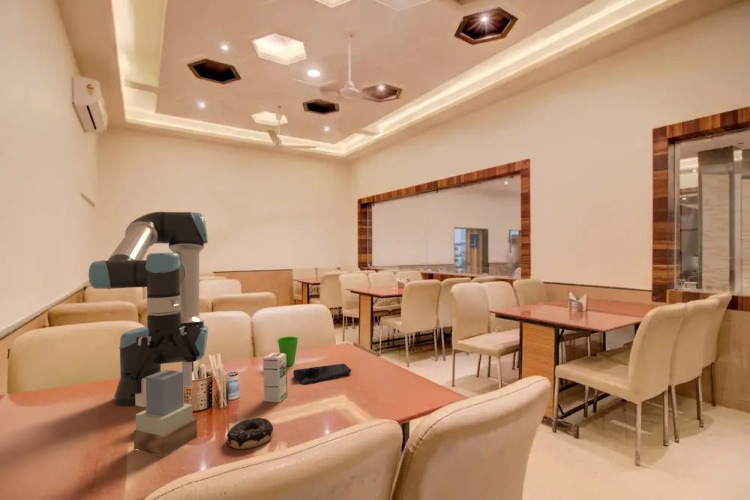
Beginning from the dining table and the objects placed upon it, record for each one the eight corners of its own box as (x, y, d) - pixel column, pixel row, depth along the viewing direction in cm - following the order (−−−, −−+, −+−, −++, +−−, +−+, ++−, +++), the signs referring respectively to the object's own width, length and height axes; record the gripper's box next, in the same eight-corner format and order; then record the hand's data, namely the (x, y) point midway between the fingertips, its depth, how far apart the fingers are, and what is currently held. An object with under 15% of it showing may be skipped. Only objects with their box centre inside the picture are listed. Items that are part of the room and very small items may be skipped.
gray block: (145, 412, 93) (145, 377, 93) (166, 403, 99) (165, 369, 99) (163, 416, 91) (163, 379, 91) (183, 406, 97) (183, 372, 97)
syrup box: (280, 402, 120) (279, 357, 120) (263, 401, 121) (262, 357, 121) (287, 395, 125) (287, 352, 125) (271, 394, 126) (270, 352, 126)
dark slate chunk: (355, 377, 143) (355, 365, 143) (299, 387, 134) (298, 373, 134) (342, 366, 157) (342, 355, 157) (290, 374, 148) (290, 362, 148)
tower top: (136, 430, 93) (135, 414, 93) (168, 414, 101) (167, 400, 101) (161, 436, 90) (161, 419, 90) (192, 420, 98) (192, 404, 98)
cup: (276, 362, 163) (276, 337, 163) (297, 360, 165) (297, 335, 165) (277, 368, 154) (277, 342, 154) (300, 366, 157) (299, 340, 157)
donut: (281, 438, 97) (281, 423, 97) (239, 457, 89) (239, 440, 89) (259, 425, 105) (259, 411, 105) (218, 442, 96) (218, 426, 96)
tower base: (134, 450, 93) (133, 430, 93) (168, 432, 102) (168, 413, 102) (163, 458, 89) (163, 437, 89) (196, 437, 98) (196, 419, 98)
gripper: (127, 323, 82) (129, 418, 83) (212, 305, 106) (213, 379, 106) (104, 321, 85) (106, 413, 85) (192, 304, 108) (193, 377, 109)
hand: (165, 395), depth 96 cm, fingers open, 13 cm apart
